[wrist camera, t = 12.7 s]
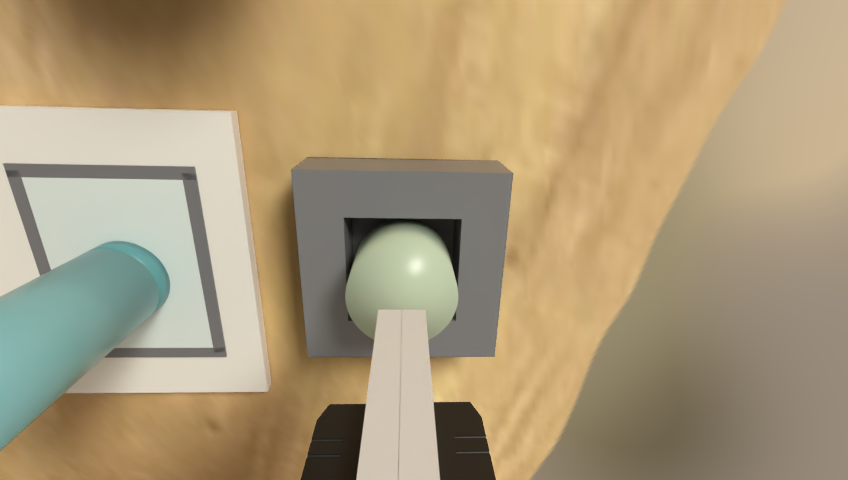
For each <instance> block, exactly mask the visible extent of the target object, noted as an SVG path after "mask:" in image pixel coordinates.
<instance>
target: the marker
mask: <svg viewBox="0 0 848 480" xmlns="http://www.w3.org/2000/svg"><path fill="white" fill-rule="evenodd" d="M169 292H170V279H169V276H168V273H167V271H166V269H165V267H164V265H163V264H162V263H161V261H160V260H159V259H158V258H157V257H156V256H155V255H154V254H152V253H151V252H150V251H148V250H147V249H145V248H143V247H141V246H139V245H137V244H134V243H130V242H125V241H111V242H106V243H103V244H101V245H99V246H97V247H95V248H93V249H91V250H89V251H87V252H85V253H83V254H81V255H80V256H78V257H76V258H74V259H72V260H70V261H68V262H66V263H64V264H62V265H60V266H58V267H56V268H54V269H53V270H51V271H49V272H47V273H45V274H43V275H41V276H39V277H37V278H35V279H33V280H31V281H29V282H28V283H26V284H24V285H22V286H20V287H18V288H16V289H14V290H12V291H10V292H8V293H6V294H4V295H3V296H1V297H0V450H2V449H3V448H4V447H5V446H6V445H7V444H8V443H9V442H10V441H12V440H13V439H14V438H15V437H16V436H17V435H18V434H19V433H20V432H22V431H23V430H24V429H25V428H26V427H27V426H28V425H29V424H30V423H32V422H33V421H34V420H35V419H36V418H37V417H38V416H39V415H41V414H42V413H43V412H44V411H45V410H46V409H47V408H48V407H49V406H51V405H52V404H53V403H54V402H55V401H56V400H57V399H58V398H59V397H61V396H62V395H63V394H64V393H65V392H66V391H67V390H68V389H69V388H71V387H72V386H73V385H74V384H75V383H76V382H77V381H78V380H79V379H81V378H82V377H83V376H84V375H85V374H86V373H87V372H88V371H89V370H91V369H92V368H93V367H94V366H95V365H96V364H97V363H98V362H99V361H101V360H102V359H103V358H104V357H105V356H106V355H107V354H108V353H109V352H111V351H112V350H113V349H114V348H115V347H116V346H117V345H118V344H120V343H121V342H122V341H123V340H124V339H125V338H126V337H127V336H128V335H130V334H131V333H132V332H133V331H134V330H135V329H136V328H137V327H138V326H140V325H141V324H142V323H143V322H144V321H145V320H146V319H147V318H148V317H150V316H151V315H152V314H153V313H154V312H155V311H156V310H157V309H158V308H160V307H161V306H162V305H163V304H164V302H165V301H166V300H167V298H168V295H169Z"/></svg>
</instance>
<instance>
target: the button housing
mask: <svg viewBox="0 0 848 480" xmlns="http://www.w3.org/2000/svg"><path fill="white" fill-rule="evenodd" d="M291 174H292V186H293V197H294V208H295V220H296V231H297V243H298V254H299V265H300V277H301V288H302V300H303V311H304V322H305V334H306V345H307V357H372V354H373V346H374V339H372V338H370V337H368V336H367V335H366V334H364V333H363V332H362V331H361V330H360V329H359V328H358V327H357V326H356V325H355V323H354V322H353V320H352V319H351V317H350V315H349V313H348V310H347V306H346V300H345V291H346V285H347V282H348V278H349V275H350V272H351V269H352V265H353V262H354V259H355V255H356V252H357V249H358V247H359V245H360V243H361V241H362V240H363V238H364V237H365V236H366V235H367V234H368V233H369V232H370V231H371V230H372V229H373V228H375V227H377V226H378V225H380V224H383V223H385V222H388V221H392V220H401V219H405V220H413V221H417V222H420V223H423V224H425V225H427V226H429V227H430V228H432V229H433V230H434V231H435V232H437V233H438V234H439V236H440V237H441V238H442V239H443V241H444V242H445V244H446V246H447V248H448V252H449V255H450V259H451V263H452V267H453V271H454V275H455V279H456V283H457V287H458V305H457V308H456V312H455V314H454V316H453V318H452V320H451V321H450V323H449V324H448V325H447V326H446V328H445V329H444V330H443V331H441V332H440V333H439V334H438V335H436V336H435V337H433V338H431V339H430V340H428V344H429V356H430V357H494V356H495V347H496V337H497V327H498V317H499V307H500V298H501V288H502V278H503V268H504V258H505V249H506V239H507V229H508V219H509V209H510V200H511V190H512V180H513V173H512V172H511V171H510V170H509V169H507V168H506V167H505V166H504V165H503V164H501V163H500V162H499V161H484V160H432V159H379V158H327V157H307V158H306V159H305V160H303V161H302V162H300V163H299V164H298V165H296V166H295V167H294V168H292V169H291Z"/></svg>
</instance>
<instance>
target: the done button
mask: <svg viewBox="0 0 848 480" xmlns="http://www.w3.org/2000/svg"><path fill="white" fill-rule="evenodd" d="M345 300H346V306H347V310H348V313H349V315H350V317H351V319H352V320H353V322H354V323H355V325H356V326H357V327H358V328H359V329H360V330H361V331H362V332H363V333H364V334H366V335H367V336H368V337H370V338H372V339H375V331H376V323H377V316H378V310H426V321H427V332H428V340H430V339H431V338H433V337H435V336H436V335H438V334H439V333H440V332H441V331H443V330H444V329H445V328H446V326H447V325H448V324H449V323H450V321H451V320H452V318H453V316H454V314H455V312H456V308H457V305H458V287H457V283H456V279H455V275H454V271H453V267H452V263H451V259H450V255H449V252H448V248H447V246H446V244H445V242H444V241H443V239H442V238H441V237H440V236H439V234H438V233H437V232H435V231H434V230H433V229H432V228H430V227H429V226H427V225H425V224H423V223H420V222H417V221H413V220H405V219H401V220H392V221H388V222H385V223H383V224H380V225H378V226H377V227H375V228H373V229H372V230H371V231H370V232H369V233H368V234H367V235H366V236H365V237H364V238H363V240H362V241H361V243H360V245H359V247H358V249H357V252H356V255H355V259H354V262H353V265H352V269H351V272H350V275H349V278H348V282H347V285H346V291H345Z"/></svg>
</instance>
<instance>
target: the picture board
mask: <svg viewBox="0 0 848 480" xmlns="http://www.w3.org/2000/svg"><path fill="white" fill-rule="evenodd" d="M111 241H125V242H130V243H134V244H137V245H139V246H141V247H143V248H145V249H147V250H148V251H150V252H151V253H152V254H154V255H155V256H156V257H157V258H158V259H159V260H160V261H161V263H162V264H163V265H164V267H165V269H166V271H167V273H168V276H169V279H170V292H169V295H168V298H167V300H166V301H165V302H164V304H163V305H162V306H161V307H160V308H158V309H157V310H156V311H155V312H154V313H153V314H152V315H151V316H150V317H148V318H147V319H146V320H145V321H144V322H143V323H142V324H141V325H140V326H138V327H137V328H136V329H135V330H134V331H133V332H132V333H131V334H130V335H128V336H127V337H126V338H125V339H124V340H123V341H122V342H121V343H120V344H118V345H117V346H116V347H115V348H114V349H113V350H112V351H111V352H109V353H108V354H107V355H106V356H105V357H104V358H103V359H102V360H101V361H99V362H98V363H97V364H96V365H95V366H94V367H93V368H92V369H91V370H89V371H88V372H87V373H86V374H85V375H84V376H83V377H82V378H81V379H79V380H78V381H77V382H76V383H75V384H74V385H73V386H72V387H71V388H69V389H68V390H67V391H66V392H65V393H172V392H268V390H269V388H270V386H271V384H272V382H271V374H270V367H269V359H268V351H267V343H266V335H265V327H264V319H263V312H262V304H261V296H260V288H259V280H258V272H257V265H256V257H255V249H254V241H253V233H252V225H251V218H250V210H249V202H248V194H247V186H246V178H245V171H244V163H243V155H242V147H241V139H240V131H239V123H238V116H237V111H218V110H176V109H134V108H93V107H51V106H9V105H0V297H1V296H3V295H4V294H6V293H8V292H10V291H12V290H14V289H16V288H18V287H20V286H22V285H24V284H26V283H28V282H29V281H31V280H33V279H35V278H37V277H39V276H41V275H43V274H45V273H47V272H49V271H51V270H53V269H54V268H56V267H58V266H60V265H62V264H64V263H66V262H68V261H70V260H72V259H74V258H76V257H78V256H80V255H81V254H83V253H85V252H87V251H89V250H91V249H93V248H95V247H97V246H99V245H101V244H103V243H106V242H111Z"/></svg>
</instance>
